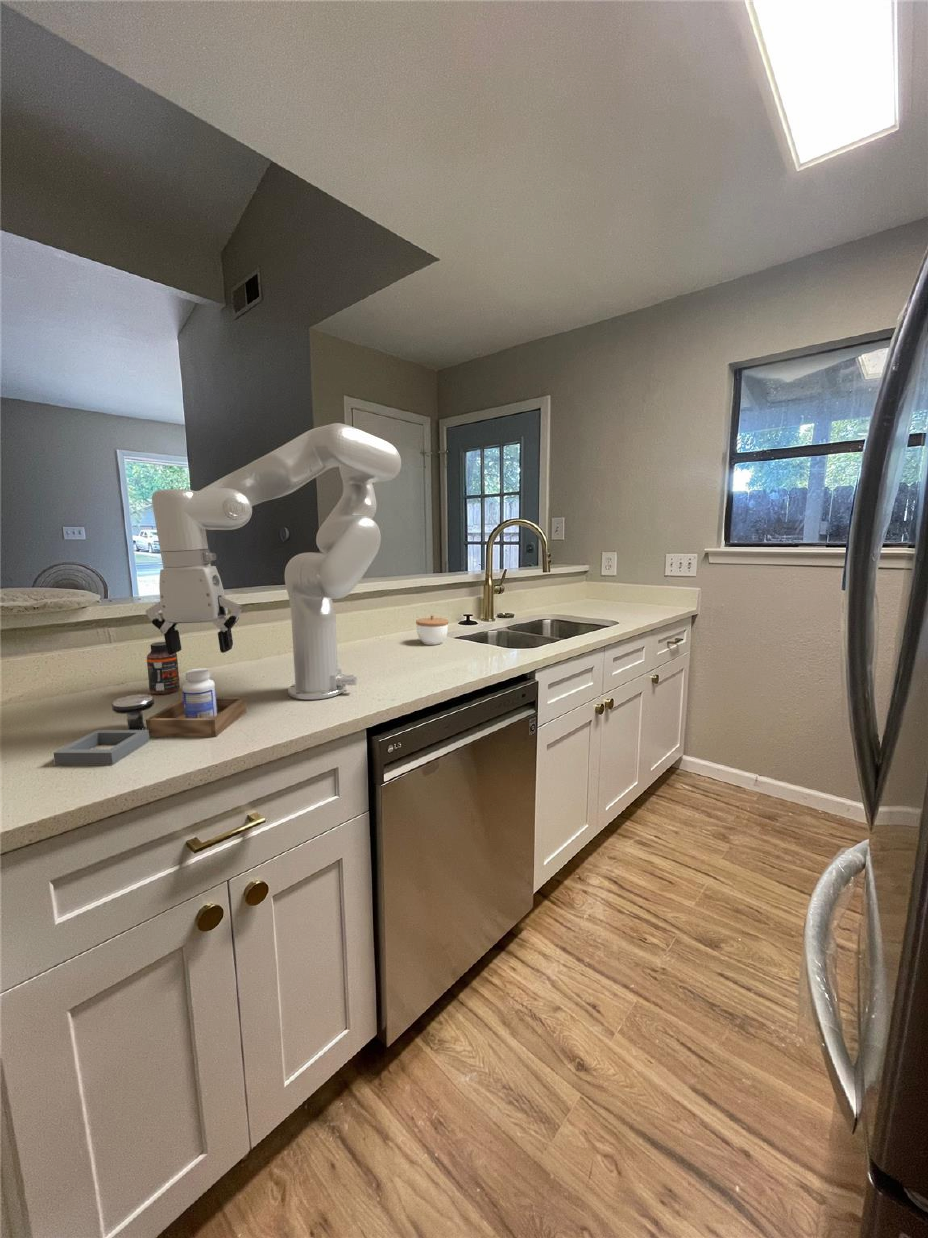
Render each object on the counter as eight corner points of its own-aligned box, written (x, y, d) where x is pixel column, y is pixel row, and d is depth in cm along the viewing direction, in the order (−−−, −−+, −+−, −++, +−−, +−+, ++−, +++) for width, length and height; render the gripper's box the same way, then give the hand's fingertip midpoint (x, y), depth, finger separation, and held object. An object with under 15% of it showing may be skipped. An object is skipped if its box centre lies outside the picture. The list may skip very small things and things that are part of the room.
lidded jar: (455, 643, 163) (455, 615, 162) (431, 648, 156) (431, 619, 154) (433, 638, 170) (433, 612, 169) (409, 643, 163) (409, 615, 161)
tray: (246, 712, 99) (245, 697, 98) (216, 736, 86) (214, 720, 86) (186, 712, 99) (184, 697, 98) (147, 736, 87) (145, 719, 86)
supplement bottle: (166, 696, 108) (161, 646, 106) (143, 694, 109) (137, 645, 108) (186, 688, 114) (181, 641, 112) (164, 686, 115) (159, 639, 113)
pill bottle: (193, 715, 95) (189, 667, 93) (222, 714, 95) (218, 666, 94) (180, 726, 90) (174, 675, 88) (210, 725, 90) (205, 674, 88)
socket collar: (149, 740, 85) (148, 730, 84) (112, 764, 76) (111, 752, 75) (98, 740, 85) (96, 729, 84) (55, 764, 76) (53, 752, 75)
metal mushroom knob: (164, 722, 93) (161, 694, 92) (142, 735, 87) (138, 705, 86) (130, 722, 93) (127, 693, 92) (106, 735, 87) (102, 705, 86)
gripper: (243, 556, 91) (255, 644, 95) (151, 560, 91) (167, 648, 95) (224, 560, 84) (237, 655, 87) (124, 564, 84) (142, 659, 88)
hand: (200, 651), depth 91 cm, fingers open, 9 cm apart
